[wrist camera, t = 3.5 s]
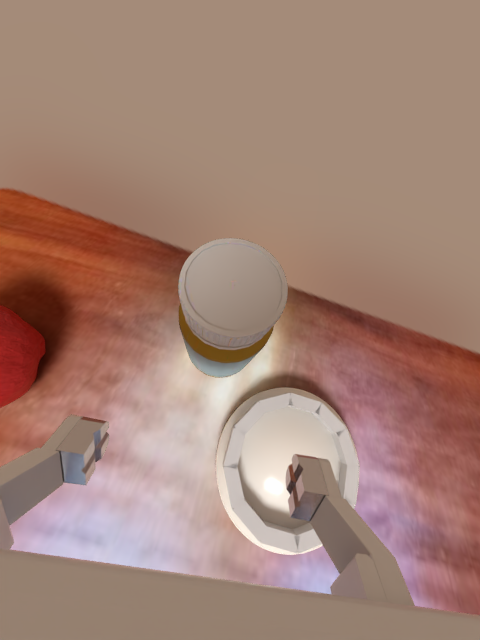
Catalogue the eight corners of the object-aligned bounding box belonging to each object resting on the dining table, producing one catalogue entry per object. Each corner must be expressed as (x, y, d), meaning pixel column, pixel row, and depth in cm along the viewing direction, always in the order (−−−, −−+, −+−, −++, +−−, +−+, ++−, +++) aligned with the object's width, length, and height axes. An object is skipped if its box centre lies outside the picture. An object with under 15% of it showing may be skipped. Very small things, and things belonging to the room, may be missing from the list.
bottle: (209, 305, 29) (213, 212, 15) (261, 336, 29) (314, 269, 15) (174, 356, 27) (142, 301, 13) (231, 390, 27) (260, 371, 13)
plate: (379, 460, 26) (393, 464, 24) (291, 590, 22) (300, 609, 20) (282, 361, 28) (288, 357, 26) (184, 461, 24) (182, 466, 22)
